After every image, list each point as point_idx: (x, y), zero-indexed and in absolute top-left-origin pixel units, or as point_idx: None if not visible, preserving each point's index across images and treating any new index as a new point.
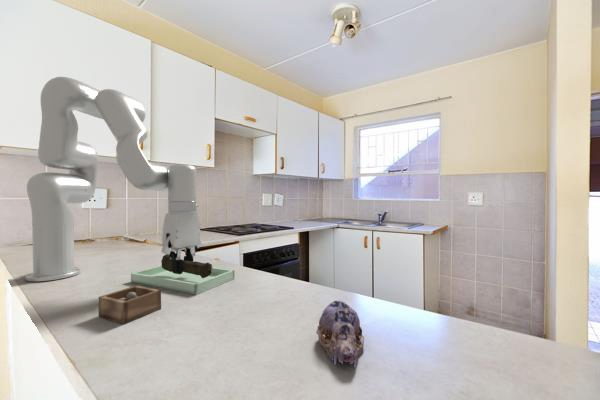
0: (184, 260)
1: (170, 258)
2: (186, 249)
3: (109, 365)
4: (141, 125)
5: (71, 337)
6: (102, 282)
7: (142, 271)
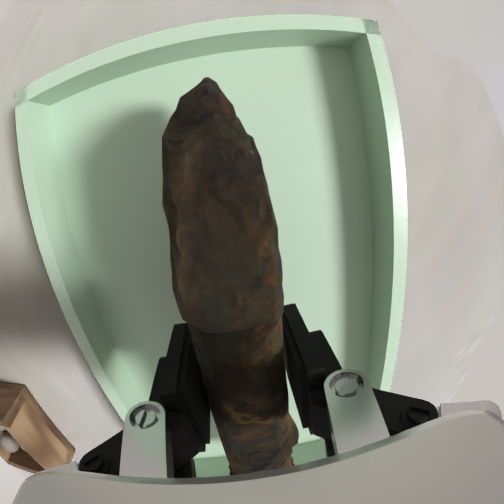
0: (256, 406)
1: (130, 412)
2: (339, 442)
3: (28, 474)
4: None
5: None
6: (6, 21)
7: (73, 78)
